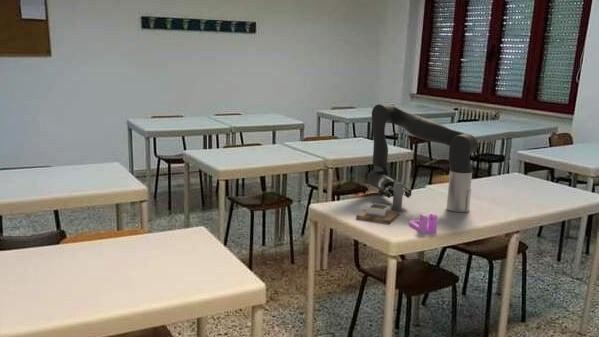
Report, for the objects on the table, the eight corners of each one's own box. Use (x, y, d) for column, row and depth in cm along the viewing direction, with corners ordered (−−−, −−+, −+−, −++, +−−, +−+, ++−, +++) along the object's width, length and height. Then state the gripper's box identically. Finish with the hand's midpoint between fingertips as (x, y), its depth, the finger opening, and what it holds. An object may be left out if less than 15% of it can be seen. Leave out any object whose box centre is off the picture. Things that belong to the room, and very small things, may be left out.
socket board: (399, 215, 226) (400, 204, 225) (389, 224, 214) (390, 213, 213) (367, 210, 232) (367, 200, 231) (356, 218, 219) (356, 208, 218)
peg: (402, 209, 234) (404, 182, 232) (400, 212, 231) (402, 184, 228) (393, 208, 236) (395, 181, 233) (391, 210, 232) (392, 183, 230)
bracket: (436, 232, 205) (437, 215, 204) (423, 234, 203) (424, 216, 202) (418, 222, 217) (420, 206, 216) (406, 223, 215) (407, 206, 214)
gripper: (373, 178, 244) (383, 187, 229) (404, 178, 246) (415, 186, 230) (372, 194, 246) (382, 204, 230) (402, 194, 248) (414, 203, 232)
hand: (399, 195), depth 230 cm, fingers open, 8 cm apart
